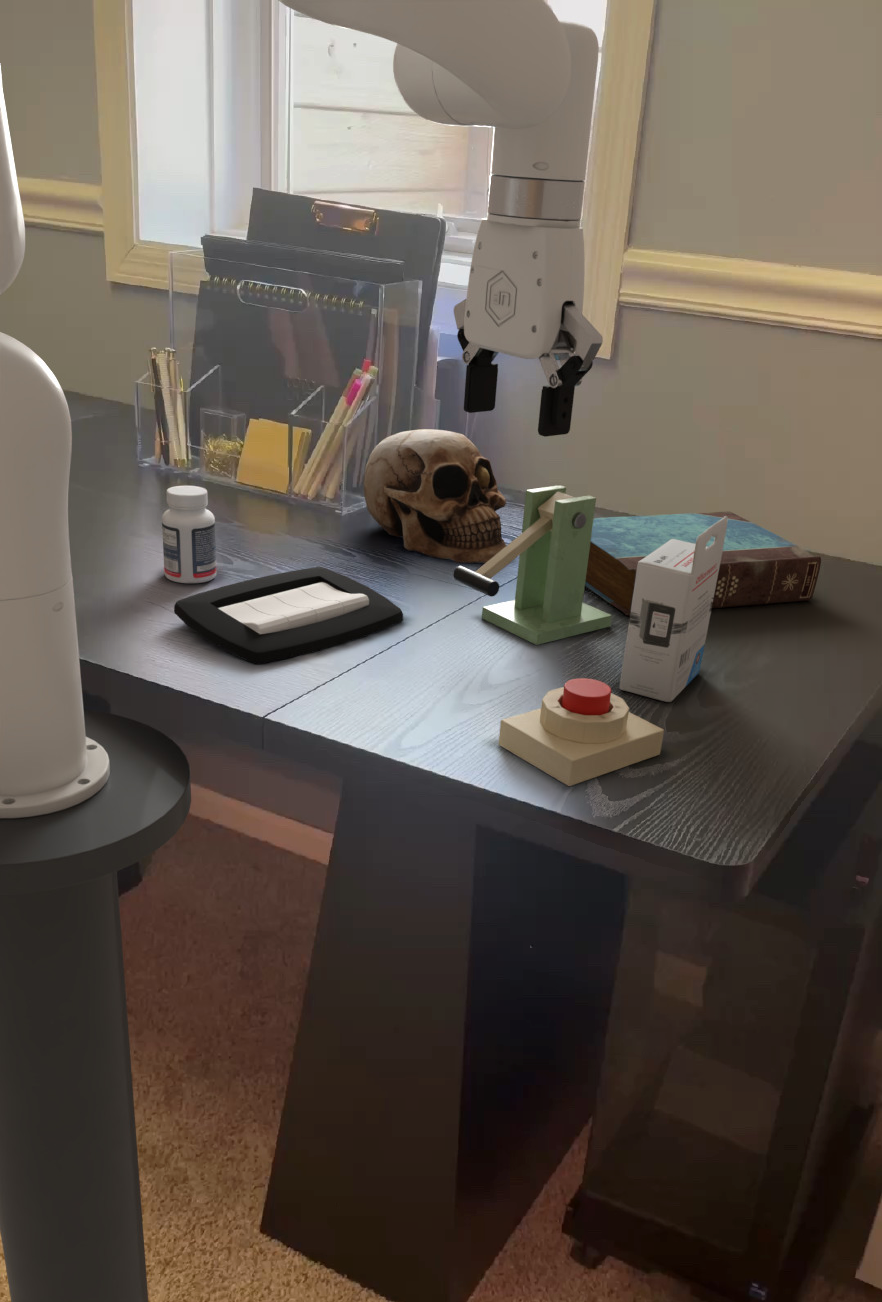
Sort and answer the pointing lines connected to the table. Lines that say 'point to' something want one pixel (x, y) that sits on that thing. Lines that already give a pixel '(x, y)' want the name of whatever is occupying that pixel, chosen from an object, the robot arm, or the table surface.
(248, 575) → the table surface
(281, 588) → the light switch
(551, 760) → the button box
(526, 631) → the bracket
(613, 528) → the book
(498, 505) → the human skull model
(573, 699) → the button
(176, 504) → the pill bottle
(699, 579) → the ink box
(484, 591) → the lever
